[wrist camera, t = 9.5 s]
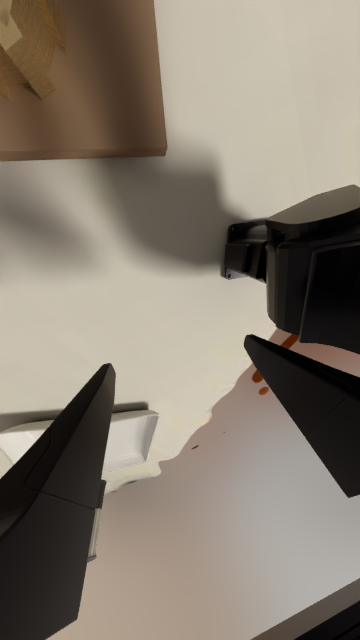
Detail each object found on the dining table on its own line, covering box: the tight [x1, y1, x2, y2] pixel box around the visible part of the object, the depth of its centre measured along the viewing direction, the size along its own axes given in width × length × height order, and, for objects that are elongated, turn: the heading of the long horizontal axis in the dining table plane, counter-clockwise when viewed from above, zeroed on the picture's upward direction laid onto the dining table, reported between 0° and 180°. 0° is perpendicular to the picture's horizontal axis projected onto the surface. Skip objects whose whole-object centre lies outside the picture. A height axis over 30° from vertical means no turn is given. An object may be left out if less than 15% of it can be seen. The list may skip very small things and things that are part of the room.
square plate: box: [0, 410, 160, 473], centre depth 33 cm, size 27×27×4 cm
